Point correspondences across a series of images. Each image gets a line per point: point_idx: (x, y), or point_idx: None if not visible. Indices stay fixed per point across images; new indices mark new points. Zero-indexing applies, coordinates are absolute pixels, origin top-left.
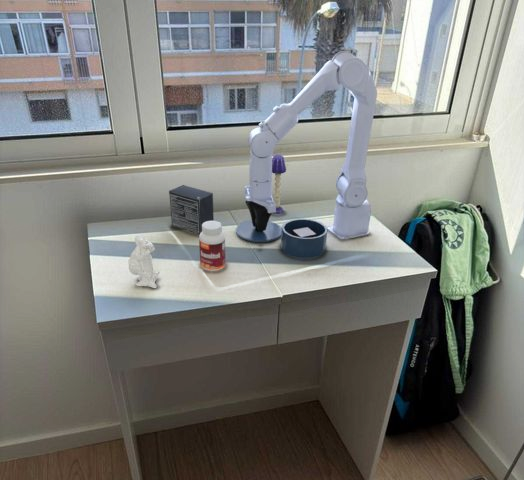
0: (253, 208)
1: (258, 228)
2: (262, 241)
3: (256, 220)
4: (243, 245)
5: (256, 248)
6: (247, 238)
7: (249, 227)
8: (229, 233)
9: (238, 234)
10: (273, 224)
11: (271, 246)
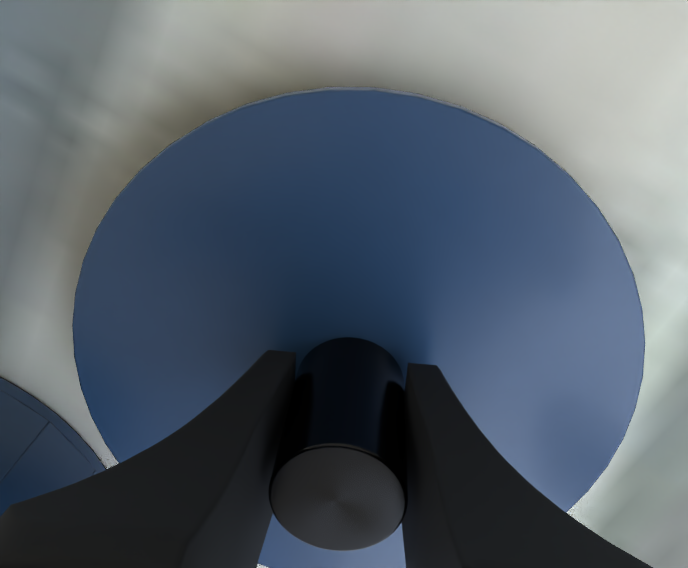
0: (129, 545)
1: (254, 364)
2: (85, 273)
3: (319, 427)
4: (192, 57)
5: (68, 162)
6: (190, 139)
7: (469, 320)
8: (591, 56)
9: (366, 90)
10: (394, 555)
11: (67, 324)
